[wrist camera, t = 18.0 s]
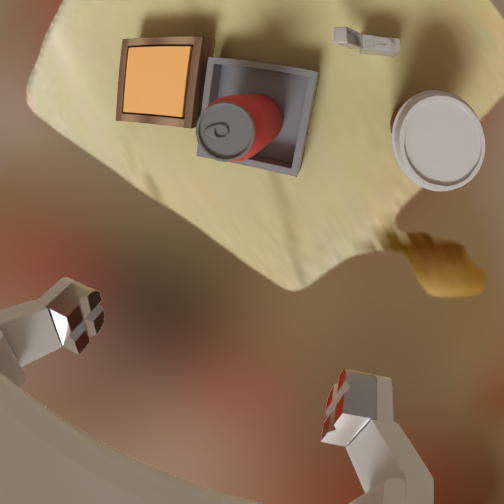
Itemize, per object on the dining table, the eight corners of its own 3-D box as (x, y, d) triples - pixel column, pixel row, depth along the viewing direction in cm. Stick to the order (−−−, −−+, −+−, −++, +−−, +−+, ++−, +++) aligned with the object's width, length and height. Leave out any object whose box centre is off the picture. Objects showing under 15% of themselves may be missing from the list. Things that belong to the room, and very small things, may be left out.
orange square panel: (194, 47, 32) (190, 46, 31) (186, 116, 36) (181, 117, 35) (134, 48, 33) (128, 47, 32) (128, 110, 38) (123, 111, 37)
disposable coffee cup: (455, 157, 32) (494, 186, 22) (387, 171, 36) (405, 204, 26) (439, 84, 29) (478, 84, 19) (368, 97, 32) (381, 99, 22)
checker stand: (215, 40, 33) (202, 36, 30) (203, 124, 39) (190, 128, 36) (139, 41, 35) (122, 39, 31) (132, 116, 41) (116, 120, 37)
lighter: (393, 44, 28) (406, 32, 21) (393, 57, 29) (407, 49, 22) (334, 39, 30) (333, 25, 23) (335, 52, 31) (334, 42, 24)
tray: (319, 73, 32) (317, 71, 29) (300, 169, 39) (296, 176, 36) (218, 59, 34) (208, 57, 31) (207, 150, 41) (196, 155, 38)
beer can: (231, 93, 36) (188, 97, 25) (284, 93, 34) (260, 95, 24) (232, 143, 39) (192, 166, 29) (283, 146, 37) (260, 169, 27)
